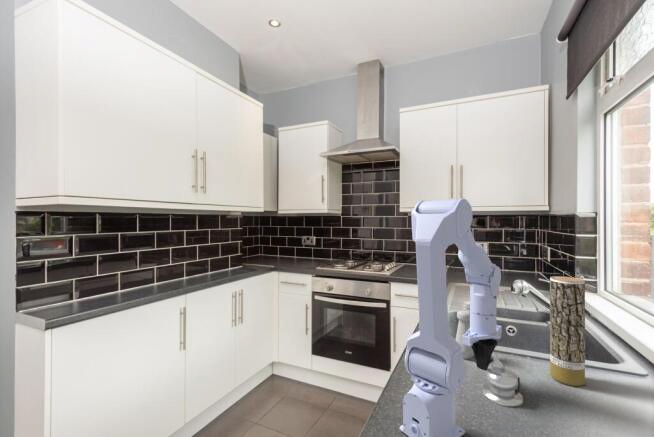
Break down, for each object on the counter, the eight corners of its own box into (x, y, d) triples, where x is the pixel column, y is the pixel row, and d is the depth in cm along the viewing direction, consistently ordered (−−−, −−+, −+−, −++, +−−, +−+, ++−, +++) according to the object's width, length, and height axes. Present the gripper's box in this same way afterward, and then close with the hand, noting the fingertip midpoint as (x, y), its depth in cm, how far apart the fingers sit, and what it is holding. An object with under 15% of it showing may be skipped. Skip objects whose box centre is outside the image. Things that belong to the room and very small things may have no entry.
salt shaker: (477, 354, 91) (477, 310, 91) (475, 362, 86) (475, 315, 86) (455, 350, 94) (455, 307, 93) (452, 357, 89) (452, 312, 89)
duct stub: (512, 411, 64) (512, 394, 64) (475, 393, 71) (475, 378, 71) (531, 397, 69) (531, 381, 69) (494, 381, 76) (494, 367, 76)
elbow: (522, 394, 66) (522, 375, 66) (492, 391, 67) (492, 373, 67) (496, 361, 81) (496, 346, 81) (472, 360, 82) (472, 345, 82)
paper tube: (591, 389, 72) (591, 282, 72) (558, 386, 74) (558, 281, 73) (574, 374, 79) (574, 276, 79) (544, 371, 80) (544, 276, 80)
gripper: (483, 322, 67) (483, 384, 67) (514, 311, 75) (514, 367, 75) (454, 314, 73) (453, 371, 73) (486, 304, 81) (485, 356, 81)
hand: (482, 368), depth 74 cm, fingers closed, pressing on elbow
